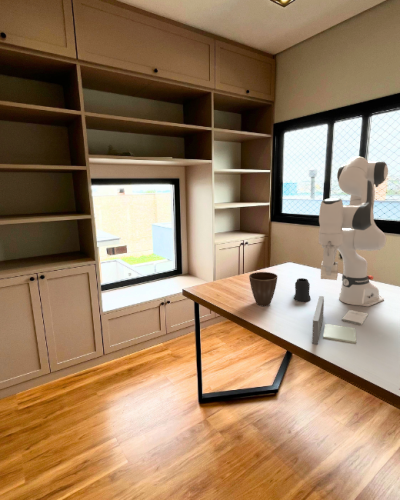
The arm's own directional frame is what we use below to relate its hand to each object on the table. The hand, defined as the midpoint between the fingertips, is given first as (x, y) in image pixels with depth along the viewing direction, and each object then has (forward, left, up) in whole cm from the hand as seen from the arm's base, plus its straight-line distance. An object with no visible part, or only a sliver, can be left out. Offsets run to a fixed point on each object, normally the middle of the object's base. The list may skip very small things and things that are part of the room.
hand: (329, 272), depth 119 cm
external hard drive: (-20, -5, -27) cm, 35 cm away
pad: (-3, +3, -27) cm, 27 cm away
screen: (+1, -4, -27) cm, 27 cm away
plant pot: (+8, -39, -27) cm, 48 cm away
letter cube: (0, 0, -2) cm, 2 cm away
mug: (-15, -37, -27) cm, 48 cm away
